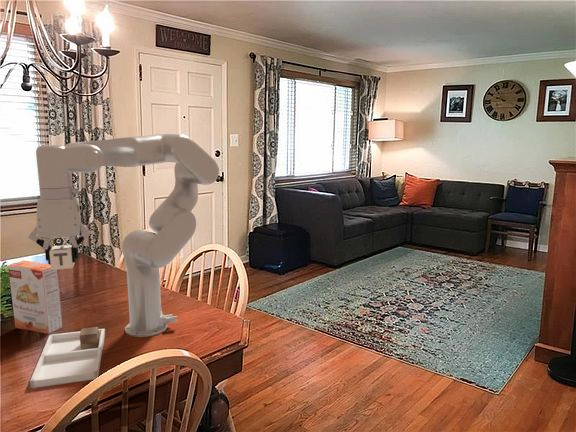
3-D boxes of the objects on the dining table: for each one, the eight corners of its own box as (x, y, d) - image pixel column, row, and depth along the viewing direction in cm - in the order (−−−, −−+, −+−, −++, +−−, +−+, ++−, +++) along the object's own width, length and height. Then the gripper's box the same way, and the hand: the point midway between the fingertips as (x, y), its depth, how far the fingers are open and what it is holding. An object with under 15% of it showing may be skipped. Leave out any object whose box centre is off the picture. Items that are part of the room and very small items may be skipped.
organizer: (105, 335, 140) (104, 328, 139) (98, 380, 115) (97, 372, 115) (50, 342, 135) (49, 334, 135) (30, 390, 111) (29, 381, 110)
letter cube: (74, 262, 125) (73, 244, 124) (72, 268, 120) (70, 249, 119) (54, 264, 124) (52, 245, 123) (51, 270, 119) (49, 251, 118)
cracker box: (14, 329, 144) (6, 264, 140) (30, 321, 149) (24, 259, 145) (47, 336, 139) (41, 270, 135) (63, 328, 144) (58, 264, 140)
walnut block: (99, 341, 135) (98, 326, 134) (98, 348, 131) (96, 333, 130) (82, 343, 134) (81, 328, 133) (80, 350, 130) (79, 335, 129)
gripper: (93, 190, 124) (98, 255, 128) (22, 193, 119) (29, 260, 123) (91, 194, 117) (96, 263, 121) (15, 197, 112) (23, 269, 116)
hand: (62, 261), depth 122 cm, fingers closed on letter cube, 4 cm apart
